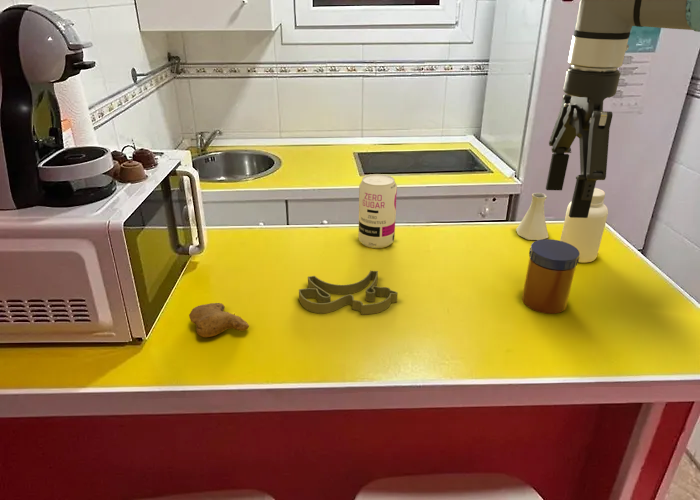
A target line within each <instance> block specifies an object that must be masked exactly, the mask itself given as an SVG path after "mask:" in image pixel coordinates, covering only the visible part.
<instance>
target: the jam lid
mask: <svg viewBox="0 0 700 500" xmlns="http://www.w3.org/2000/svg"><path fill="white" fill-rule="evenodd" d="M579 255H580V253H579V251H578V249H577V248H576V247H574V246H573V245H571V244H568V243H566V242H563V241H560V240H559V239H551V238H545V239H542V240H534V241H533V242H532V243H531V244H530V247H529V252H528V256H529V257H530V259H531V260H532V261H533V262H534V263H536V264H538V265H540V266H542V267H545V268H549V269H554V270H568V269H572V268H574V267H575V266H576V267H577V266H578V263H579V262H578V261H579Z"/></svg>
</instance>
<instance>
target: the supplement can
mask: <svg viewBox="0 0 700 500" xmlns="http://www.w3.org/2000/svg"><path fill="white" fill-rule="evenodd" d="M397 196H398V185H397V183H396V181H395V178H394V177H393V176H391V175H389V174H388V175H387V174H383V173H382V174H381V173H373V174H368V175H364V176H363V177H362V179H361V181H360V183H359V186H358V235H357V236H358V237H357V238H358V240H359V242H360V243H361V244H362V245H363V246H365V247H367V248H372V249H383V248H386V247H387V248H388V247H389V246H390V245H392V244H393V243H394V242H395V236H396V235H395V233H396V215H397V214H396V213H397Z"/></svg>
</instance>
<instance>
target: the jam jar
mask: <svg viewBox="0 0 700 500" xmlns="http://www.w3.org/2000/svg"><path fill="white" fill-rule="evenodd" d="M576 268H577V266H575V267H574V268H572V269H568V270H554V269H549V268H545V267H542V266H540V265H538V264H536V263H534V262H533V261H532V260H531V259H530V257H529V258H528V263H527V267H526V273H525V278H524V284H523V289H522V294H521V301H522V303H523V304H524V305H525V306H526V307H528V308H529V309H531V310H532V311H535V312H538V313H541V314H549V315H554V314H559V313H562V312H564V311H565V310H566V309H567V305H568V302H569V298H570V293H571V289H572V285H573V281H574V277H575V274H576V273H575V272H576Z"/></svg>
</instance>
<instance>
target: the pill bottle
mask: <svg viewBox="0 0 700 500" xmlns="http://www.w3.org/2000/svg"><path fill="white" fill-rule="evenodd" d="M605 196H606V192H605V191H604V190H602V189H601V188H597V187H595V188H594V193H593V197H592V201H591V205H590V209H589V213H588V218H570V217H569V212H570V207H571V203H572V200H571V201H570V202H569V203H568V205H567V208H566V212H565V217H564V222H563V225H562V226H563V227H562V230H561V235H560V239H559V241H563V242H566V243H568V244H571V245H573V246H574V247H576V248H577V249H578V251H579V253H580V255H579V261H578V263H582V264H583V263H584V264H585V263H591V262H593V261H595V260H596V259H597V257H598V254H599V251H600V247H601V242H602V238H603V236H604V235H603V234H604V231H605V227H606V223H607V220H608V216H609V208H608V206H607V205H606V204H605V203H604V202H605V198H606V197H605Z"/></svg>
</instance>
